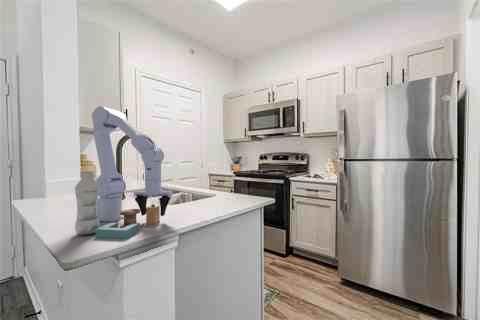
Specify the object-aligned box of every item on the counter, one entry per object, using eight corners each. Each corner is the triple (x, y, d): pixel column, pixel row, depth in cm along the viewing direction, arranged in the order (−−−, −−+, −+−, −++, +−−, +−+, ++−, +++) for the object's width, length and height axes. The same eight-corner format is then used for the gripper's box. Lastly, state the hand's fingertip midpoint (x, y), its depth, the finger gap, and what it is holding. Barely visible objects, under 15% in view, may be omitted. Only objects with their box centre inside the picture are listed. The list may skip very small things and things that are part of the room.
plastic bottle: (88, 238, 67) (88, 172, 67) (69, 236, 69) (69, 172, 68) (104, 231, 74) (104, 171, 74) (87, 229, 75) (87, 171, 75)
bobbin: (115, 229, 75) (115, 212, 75) (127, 223, 82) (127, 208, 82) (133, 230, 75) (133, 213, 75) (143, 224, 81) (143, 209, 81)
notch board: (95, 237, 68) (95, 229, 68) (111, 229, 75) (111, 222, 75) (126, 238, 67) (126, 230, 67) (138, 231, 74) (138, 223, 74)
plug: (146, 223, 83) (146, 205, 83) (150, 220, 86) (151, 203, 86) (155, 223, 83) (155, 205, 83) (159, 221, 86) (159, 203, 86)
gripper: (129, 180, 81) (129, 217, 81) (166, 181, 80) (166, 218, 80) (139, 178, 88) (139, 212, 88) (174, 179, 87) (174, 213, 87)
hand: (153, 215), depth 84 cm, fingers open, 7 cm apart
